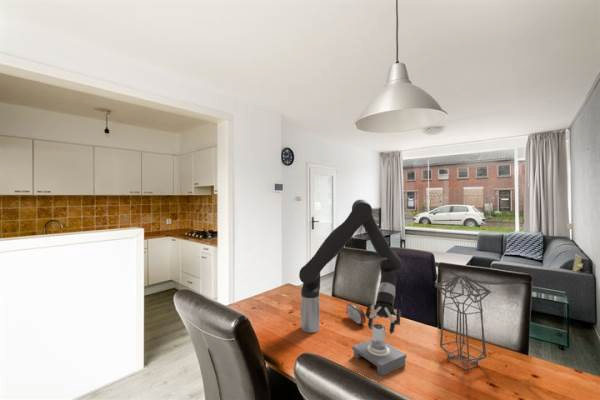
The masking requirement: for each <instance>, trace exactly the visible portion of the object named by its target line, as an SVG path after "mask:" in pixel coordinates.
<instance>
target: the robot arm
mask: <svg viewBox="0 0 600 400" xmlns="http://www.w3.org/2000/svg"><path fill="white" fill-rule="evenodd" d="M362 226H363V228H364V230H365V232H366V234H367V236H368V239H369V241H370V243H371V245H372V247H373V249H374V250H375V253H376V254H377V255H378V257H380V258H382V259H381V260H380V262H379V269H380V276H381V277H380V282H379V286H378V290H377V296H376V300H375V304H374V305H373V304H372V303H370V302H369V303H368V304H367V308H366V310H365V313H364V314H365V318H366V319H368V322H367V325H368V328H369V330H372V325H374V320H375V319H377V318H378V317H379V318H384V319H389V322H390V325H389V334H390V335H393V333H394V332H395V328H396V327H395V326H396V325H398V326H399V325H400V324H401V314H402V313H401V309H400V308H397V309H396V308H394V304H395V299H396V287H397V286H396V285H397V276H396V275H395V274H393V272H394V273H395V272H401V271H402V269H403V262H402V259H401V258H400V257H399V255H397V254H396V252H395V251H394V250H393V249H392V248H391V246H390V245H389V243H388V241H387V239H386V237H385V235H384V233H382V230H381V229H380V227H379V226H378V224H377V223H376V220H375V218H374V216H373V208H372V205H371V204H370V202H368V201H367V200H365V199H356V200H355V201H354V202H353V204H352V207H351V212H350V213H349V214H348V215H347V217H346V219H345V220H344V221H343V222H342V223H341V224H339V225H338V226H337V227H336V228H334V229H333V230H332V231H331V232H330V233H329V235H328V236H327V237H326V238H324V239H325V240H324V241H323V242H322V244H321V245H320V247H318V249H317V251H316V252H315V254H314V255H313V256H312V257H311V259H309V261H308V262H306V263H305V264H304V266H302V267H301V268H300V269H299V274H298V275H299V276H298V277H299V280H300V281H301V282H302V287H301V290H300V295H301V297H300V298H301V303H300V304H301V306H300V307H301V308H300V327H301V331H303V332H304V333H311V334H313V333H317V332H318V331H320V290H321V272H322V270H323V269H324V268H325V267H326V266H327V264H329V263H330V262H331V261H332V260H333V259H334V258H336V256H337V255H338V254H340V253H341V251H342V250H343V248H344V247H345V246H346V245H347V244H348V242H349V241H351V239H352V237H353V236H354V234H356V232H357V231H358V230H359V229H360V228H361V227H362ZM373 310H374V311H373ZM393 314H395V316H396V317H395V319H394V318H393V316H392V315H393Z"/></svg>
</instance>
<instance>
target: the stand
mask: <svg viewBox="0 0 600 400" xmlns="http://www.w3.org/2000/svg"><path fill="white" fill-rule="evenodd" d="M371 344H372V338H371V339H369V340H365V341H362V342H359V343H357V344H353V345H352V346H351V347H352V351H353V356H354V358H355V359H357V360H358V359H360V358H362V357H363V358H364V359H366V361H367V360H368V362H369V363H372V364H373V365H374V366H376V372H377V374H378V375H380V376H382V377H383V376H385V375H388V374H389V373H392V372H394V371H397V370H398V369H400V368H402V367H405V366H406V359H407V354H406V353H405V352H403V351H401V350H400V349H397V348H396V347H394V346H392V345H390V344H388V342H385V345H386V347H387V352H386V353H383V354H379V353H375V352H373V351H371V349H370V345H371Z"/></svg>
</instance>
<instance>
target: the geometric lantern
mask: <svg viewBox="0 0 600 400" xmlns="http://www.w3.org/2000/svg"><path fill="white" fill-rule="evenodd" d="M445 283H446V284H445ZM457 284H460V285H461V293H460V292H456V291H455V292H454V289H455V287H456V286H457ZM434 287H435V288H437V289H438V291H440V293H442V295H443V296H444V297H443V302H442V304H441V306H442V309H441V329H440V339H439V347H440V348H441V349H442V351H444V352H445V353H446V355H447V358H446V359H447V360H448V361H449V362H450V363H452V364H453V365H455V366H458V367H459V368H460V369H462V370H464V371H465V370H470V369H473V368H475V367H478V366H479V361H481V360H484V359H486V358H487V349H486V341H485V340H486V339H485V329H484V322H483V321H484V319H483V318H484V317H483V315H484V314H483V306H482V300H483V299H485V298H486V297H487V296H488V295H489V294H492V293H493V292H492V291H491V290H490V289H488V288H487V287H485V286H484V285H481V284H480V283H478V282H476V281H475V280H473V279H472V278H470V277H468V276H467V275H465V274H458V275H457V276H456V275H455V276H453V277H451V278H448V279H446V280H443V281H441V282H438V283H435V284H434ZM478 287H480V288H478ZM449 288H450V289H449ZM465 290H466V292H467V295H466V294H465ZM481 291H483V292H482V293H480V292H481ZM474 292H475V293H474ZM447 293H449V296H447ZM454 294H455V295H454ZM462 296H464V297H466V299H465V300H463V302H460V301H459V300H458V299H457V298H458V297H462ZM471 296H472V297H474V298H472V297H471ZM478 298H479V299H478ZM447 299H450V300H452V302H446V300H447ZM473 299H474V300H473ZM468 300H471V302H470V304H467V303H466V302H467V301H468ZM452 304H454V305H455V306H456V308H457V310H456V309H453V308H451V307H449V306H446V305H452ZM472 304H477V307H476V306H473V305H472ZM460 305H462V310H461V309H460ZM465 306H467V307H466V309H465ZM469 307H471V308H474V309H477V310H479V311H475V312H474V311H473V312H468V313H466V311H467V310H468V309H469ZM445 308H447V309H450V310H452V311H454V312H456V314H457V315H456V330H455V332H456V335H455V341H450V342H449V341H448V342H444V343H443V340H444V339H443V335H444V334H443V333H444V316H445ZM472 314H480V321H481V322H480V323H481V325H480V326H481V342H482V350H480V349H478V348H476V347H474V346H472V345H470V344H469V334H468V317H467V316H468V315H472ZM458 333H459V334H458ZM458 335H459V337H458ZM465 337H466V338H465ZM458 338H459V340H458ZM465 339H466V342H465ZM454 343H456V346H457V350H454V351H449V350H448V349H446V348H445V347H443V346H445V345H450V344H454ZM458 343H459V345H458ZM464 345H466V350H467V351H466V352H465V351H463V348H464ZM469 348H471V349H473V350H476V351H478V352H479V353H481V354H480V355H478V356H477V357H475V356H474V355H471V354H470V349H469ZM454 353H457V354H454ZM463 353H464V354H465V355H467V356H465V355H463ZM462 357H463V358H462ZM470 357H472V358H470ZM450 359H454V360H456V361H458V362H459V363H462V364H463V367H462V366H461V365H459V364H457V363H456V362H454V361H452V360H450ZM464 361H466V362H464ZM471 363H475V365H473V366H470V367H468V365H469V364H471ZM465 366H466V368H465Z"/></svg>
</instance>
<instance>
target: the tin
mask: <svg viewBox="0 0 600 400" xmlns="http://www.w3.org/2000/svg"><path fill="white" fill-rule="evenodd" d="M346 312H347V313H346V314H347V315H348V317H349V319H350V320H352V321H353V322H354V323H356V324H357V325H364V324H366V319H367V317H366V315H365V314H366V313H365V312H364V310H363V309H362V308H361V307H360V306H358V305H357V304H355V303H353V302H350V303H348V304H347V305H346Z"/></svg>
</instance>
